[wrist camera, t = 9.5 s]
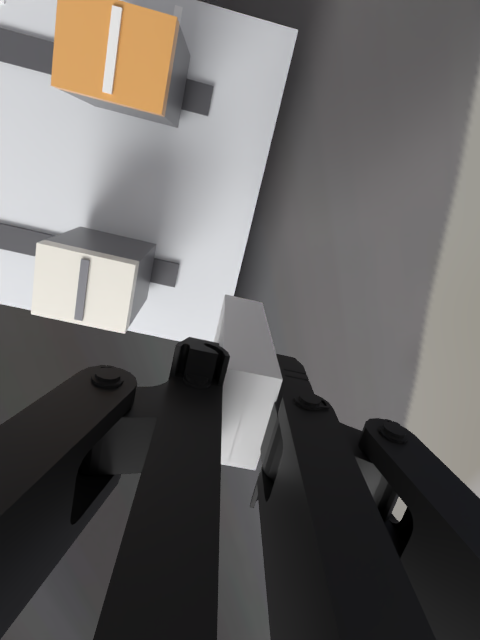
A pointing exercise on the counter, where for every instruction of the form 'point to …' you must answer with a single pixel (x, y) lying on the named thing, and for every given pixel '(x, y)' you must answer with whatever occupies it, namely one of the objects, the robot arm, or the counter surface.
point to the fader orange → (121, 58)
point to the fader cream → (92, 278)
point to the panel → (142, 160)
